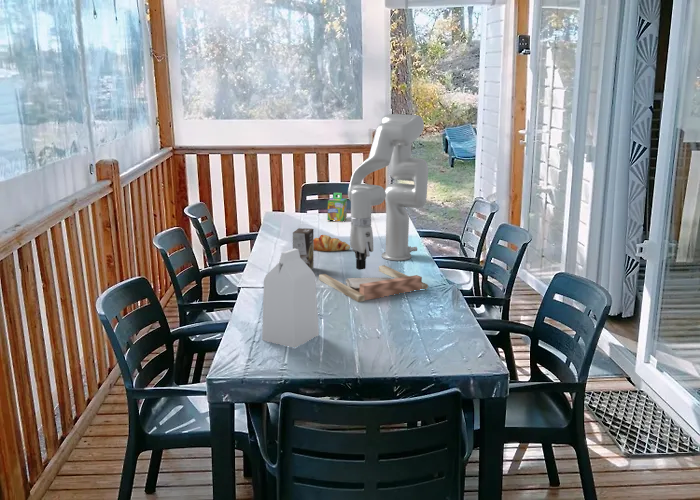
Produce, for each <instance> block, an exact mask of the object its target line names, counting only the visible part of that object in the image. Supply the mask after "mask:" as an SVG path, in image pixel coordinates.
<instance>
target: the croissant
mask: <svg viewBox="0 0 700 500" xmlns="http://www.w3.org/2000/svg"><path fill="white" fill-rule="evenodd" d="M313 248H314V251H318V252H334V251H335V252H341V251H348V250H349V249H351V246H350V244H348V243H347V242H345V241H342V240H340V239H339V238H337V237H331V236H330V235H326V234H321V235H319V236H318V237H314V238H313Z"/></svg>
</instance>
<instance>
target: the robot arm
mask: <svg viewBox="0 0 700 500" xmlns="http://www.w3.org/2000/svg"><path fill="white" fill-rule="evenodd" d="M424 126H425V124H424V119H423V118H422V117H421V116H420V115H418V114H400V113H393V114H392V113H391V114H390V113H389V114H385V115H383V116H382V118H381V123H380V124H379V125H377V127H376V129H375V132H374V136H373V139H372V142H371V143H372V144H371V147H370V151H369V155H368V157H367V158H366V159H365V160H364V161H362V162H361V163H360V164H359V165H358V166H357V167H356V169H355V170H354V171H353V173H352V175H351V177H350V182H349V185H348V189H347V197H348V198H347V199H348V200H349V201H350V232H349V233H350V236H349V238H350V239H349V241H350V244H349V245H350V249H352V251H353V252H354V257H355V261H356V262H355V267H356V269H357V270H360V271H361V270H365V269H366V266H367V264H366V261H367V260H366V259H367V257H370V256H371V254H370V253H372V252H374V235H373V227H372V207H373V206H379V205H381V204H383V203H384V201H385V210H386V212H385V214H386V215H385V216H386V220H385V221H386V223H385V224H386V225H385V251H383V252H381V257H382V258H383V259H384V260H389V261H398V262H399V261H407V260H410V259H412V254H411V253H412V252H417V251H418V247H417V246H409V232H410V231H409V229H410V228H409V227H410V215H409V213H408V210H407V209H406V208H412V209H413V208H414V209H421V208H423V207H425V205H426V203H427V199H428V198H427V197H428V183H429V182H428V181H429V167H428V163H427V161H426V160H425V159H424V158H420V157H412V144H413V143H414V142H415V141H416V140H417V139H418V138H419V137H420V136H421V135H422V133H423V132H424V128H425V127H424ZM388 166H389V176H390V177H391V178H392V179H393V180H397V181H406V182H408V181H409V182H413V184H411V183H399V182H395V183H394V182H393V183H390V184H388V185H387V186H386V187H385V188H384V187H383V186H381V185H378V184H377V185H376V184H368V183H362V182H363V181H364V179H365V178H366V177H367V176H368V175H370V174H371V173H374V172H376V171H379V170H381V169H384V168H386V167H388Z"/></svg>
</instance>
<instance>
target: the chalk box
mask: <svg viewBox="0 0 700 500" xmlns="http://www.w3.org/2000/svg"><path fill="white" fill-rule="evenodd" d="M337 195H338V197H337ZM347 209H348V198H344V197H343V193H342V192H333V196H332V197H330V198H329V199H328V200H327V220H335V221H344V220H345V219H346V220H347V218H346V217H347V216H348V215H347V213H348V210H347ZM327 220H326V221H327ZM346 220H345V221H346ZM335 221H334V222H335ZM345 221H344V222H345Z"/></svg>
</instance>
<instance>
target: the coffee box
mask: <svg viewBox="0 0 700 500" xmlns="http://www.w3.org/2000/svg"><path fill="white" fill-rule="evenodd" d="M314 232H315V231H314V228H302V227H301V228H300V227H299V228H297V229H296V230H295V231H293V232H292V249H294V248H295V249H298V250H299V254H300V258H301V259H302V260H303V261H304V262H305V263H306V264H307V265H308V267H309V268H310V269H311V270H312V271H313V269H314V267H315V266H314V261H315V260H314V255H315V254H314V251H315V250H314V248H313V240H314Z"/></svg>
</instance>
